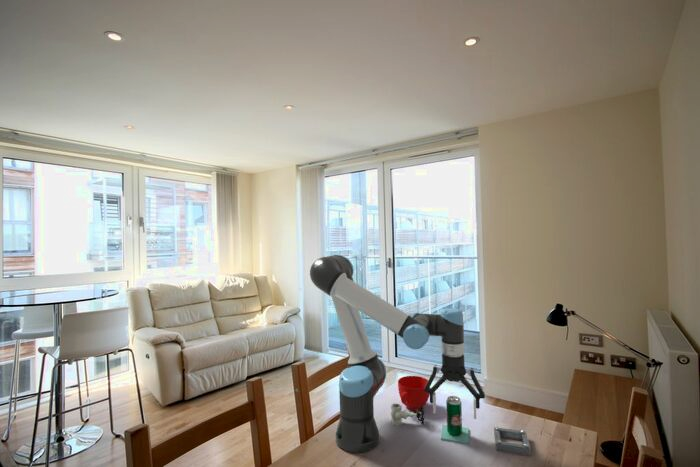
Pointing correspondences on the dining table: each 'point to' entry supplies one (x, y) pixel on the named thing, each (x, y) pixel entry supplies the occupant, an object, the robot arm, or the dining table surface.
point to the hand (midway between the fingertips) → (454, 414)
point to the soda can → (454, 416)
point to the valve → (405, 414)
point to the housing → (512, 447)
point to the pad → (461, 438)
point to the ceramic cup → (413, 391)
